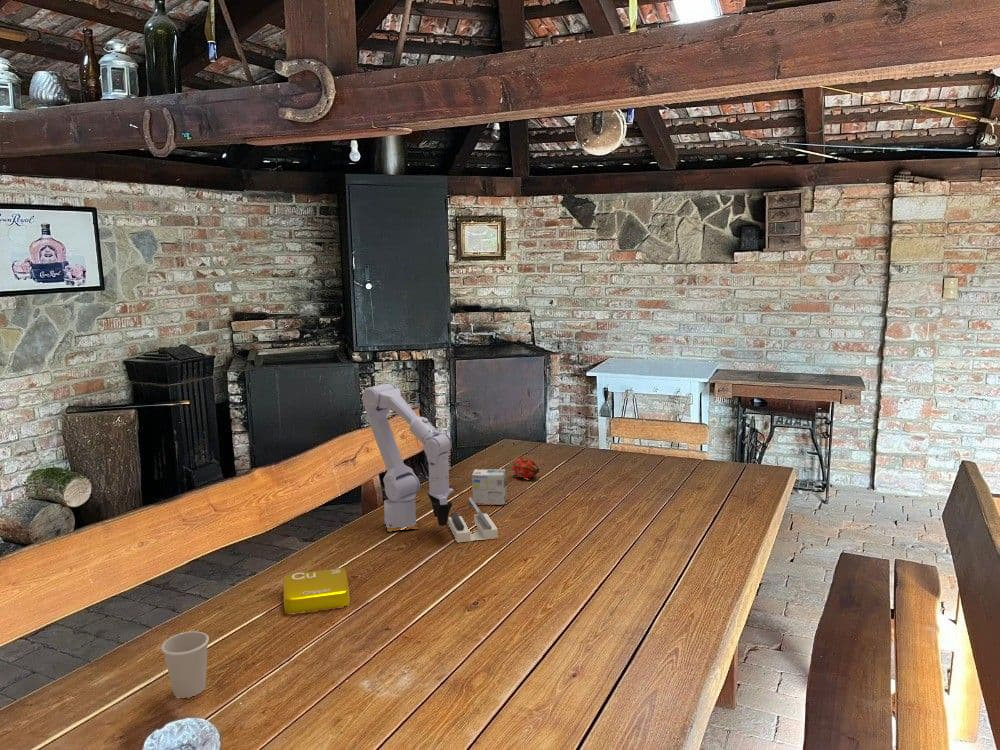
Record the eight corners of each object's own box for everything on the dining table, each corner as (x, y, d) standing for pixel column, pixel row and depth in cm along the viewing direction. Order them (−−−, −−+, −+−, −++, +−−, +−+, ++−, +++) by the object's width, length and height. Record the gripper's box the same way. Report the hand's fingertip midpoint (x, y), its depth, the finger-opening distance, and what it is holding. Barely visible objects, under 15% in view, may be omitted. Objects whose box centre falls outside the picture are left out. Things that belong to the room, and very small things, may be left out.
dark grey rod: (457, 530, 216) (457, 524, 216) (451, 519, 226) (451, 512, 225) (464, 530, 216) (464, 523, 216) (457, 518, 226) (457, 512, 226)
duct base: (457, 543, 214) (456, 533, 214) (448, 526, 228) (448, 517, 227) (497, 539, 217) (497, 529, 217) (487, 522, 231) (486, 513, 230)
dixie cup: (219, 677, 148) (215, 630, 147) (204, 702, 140) (199, 652, 138) (176, 678, 148) (171, 631, 146) (158, 703, 140) (153, 654, 138)
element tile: (284, 618, 173) (283, 598, 172) (285, 590, 187) (283, 572, 187) (350, 608, 177) (349, 589, 176) (346, 582, 191) (345, 564, 191)
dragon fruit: (515, 477, 281) (536, 489, 273) (502, 469, 276) (523, 480, 267) (526, 458, 283) (548, 469, 274) (513, 449, 277) (535, 460, 268)
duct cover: (477, 512, 215) (480, 510, 215) (468, 498, 227) (470, 496, 228) (489, 529, 217) (492, 527, 217) (480, 514, 229) (482, 513, 229)
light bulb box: (506, 499, 252) (506, 468, 250) (504, 506, 245) (504, 474, 244) (475, 499, 253) (474, 468, 251) (472, 506, 246) (471, 474, 245)
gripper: (457, 481, 211) (458, 527, 213) (448, 468, 225) (449, 511, 227) (432, 484, 210) (434, 530, 212) (424, 470, 224) (426, 513, 226)
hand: (440, 520), depth 219 cm, fingers open, 7 cm apart
